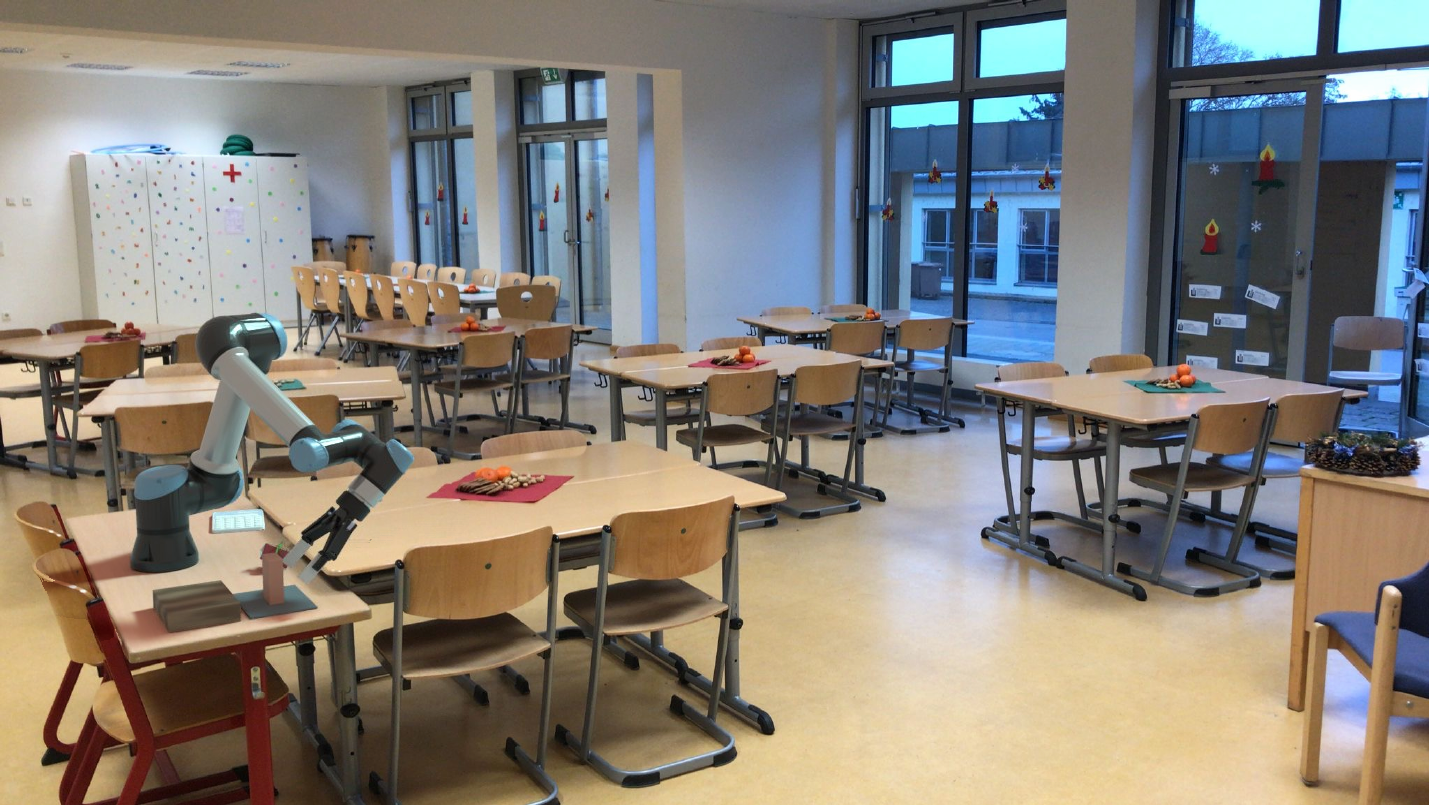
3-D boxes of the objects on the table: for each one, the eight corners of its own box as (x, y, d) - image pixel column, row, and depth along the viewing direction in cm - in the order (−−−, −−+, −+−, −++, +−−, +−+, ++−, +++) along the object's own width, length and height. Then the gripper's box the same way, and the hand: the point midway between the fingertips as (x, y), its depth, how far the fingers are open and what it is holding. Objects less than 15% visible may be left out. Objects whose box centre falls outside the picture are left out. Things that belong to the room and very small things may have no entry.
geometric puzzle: (302, 556, 287) (281, 530, 286) (294, 564, 281) (272, 538, 279) (279, 573, 288) (258, 547, 286) (270, 581, 281) (249, 555, 280)
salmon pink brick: (263, 597, 261) (261, 554, 260) (277, 595, 263) (275, 552, 262) (270, 605, 257) (268, 561, 255) (284, 603, 258) (282, 559, 257)
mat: (231, 595, 263) (231, 594, 263) (294, 586, 271) (294, 584, 271) (250, 619, 249) (250, 617, 249) (317, 608, 256) (317, 606, 256)
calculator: (211, 535, 313) (211, 529, 312) (212, 517, 331) (212, 511, 330) (265, 532, 318) (264, 525, 317) (263, 514, 336) (262, 507, 336)
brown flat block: (153, 607, 254) (152, 590, 254) (221, 597, 262) (221, 580, 261) (169, 632, 240) (168, 614, 239) (240, 621, 247) (240, 602, 247)
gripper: (389, 521, 259) (322, 597, 253) (354, 497, 279) (291, 567, 273) (364, 500, 255) (296, 577, 249) (331, 478, 275) (267, 549, 269)
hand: (293, 572), depth 261 cm, fingers open, 13 cm apart
